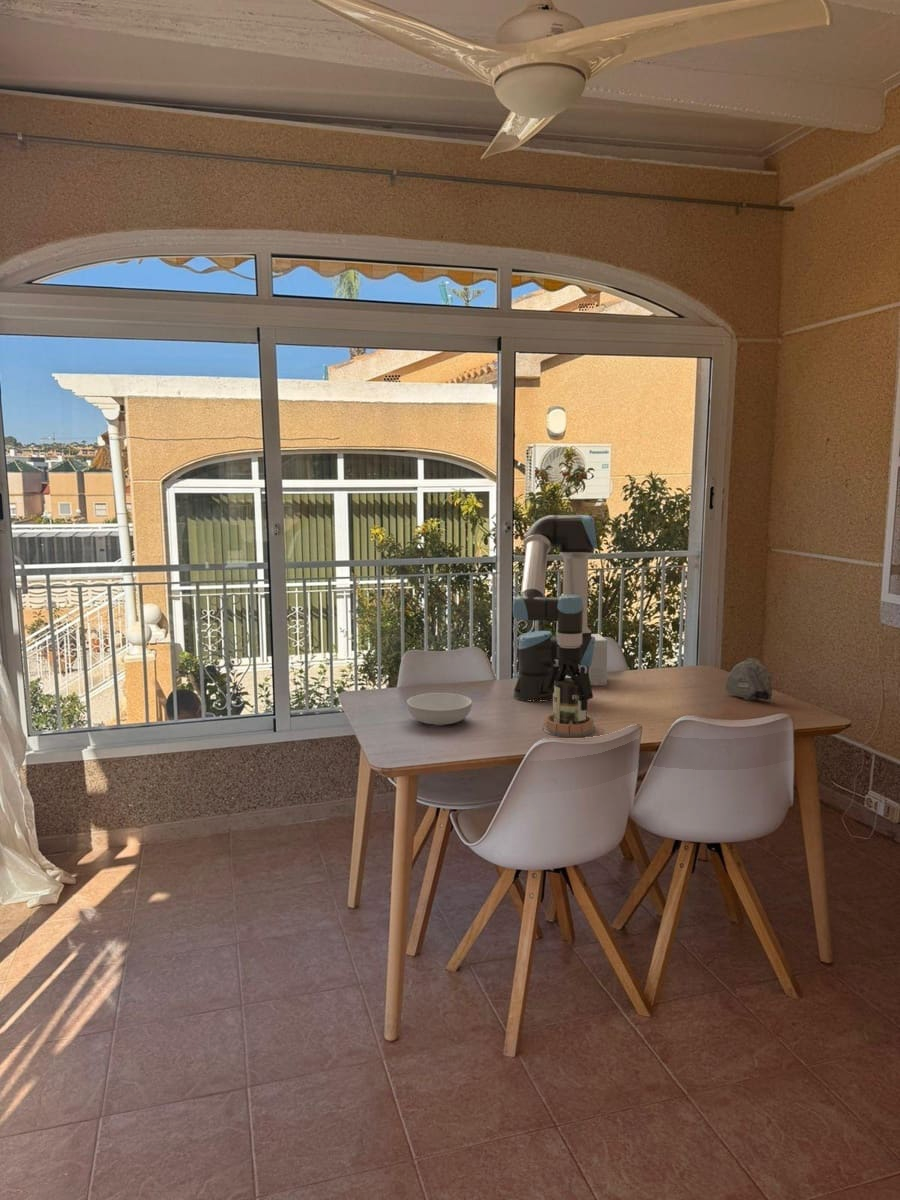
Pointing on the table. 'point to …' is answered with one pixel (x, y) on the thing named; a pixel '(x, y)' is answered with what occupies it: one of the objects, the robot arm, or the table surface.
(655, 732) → the table surface
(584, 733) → the collar
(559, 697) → the coffee can
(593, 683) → the supplement box
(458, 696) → the serving bowl
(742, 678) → the decorative rock
